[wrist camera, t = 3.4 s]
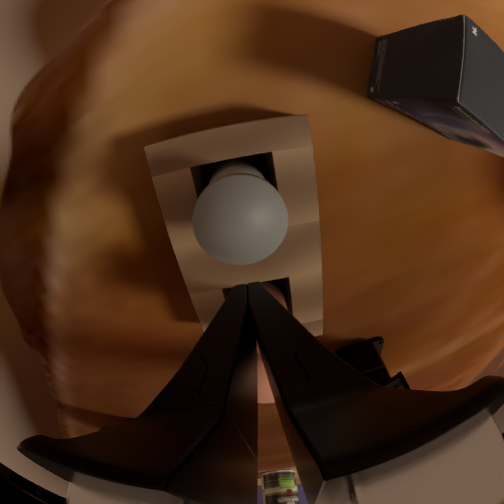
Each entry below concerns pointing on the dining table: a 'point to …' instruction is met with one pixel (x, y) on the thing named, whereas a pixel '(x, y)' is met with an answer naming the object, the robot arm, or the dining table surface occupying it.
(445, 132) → the small box
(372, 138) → the dining table surface
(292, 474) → the coffee can
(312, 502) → the robot arm
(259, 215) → the grey plug
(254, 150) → the socket block
